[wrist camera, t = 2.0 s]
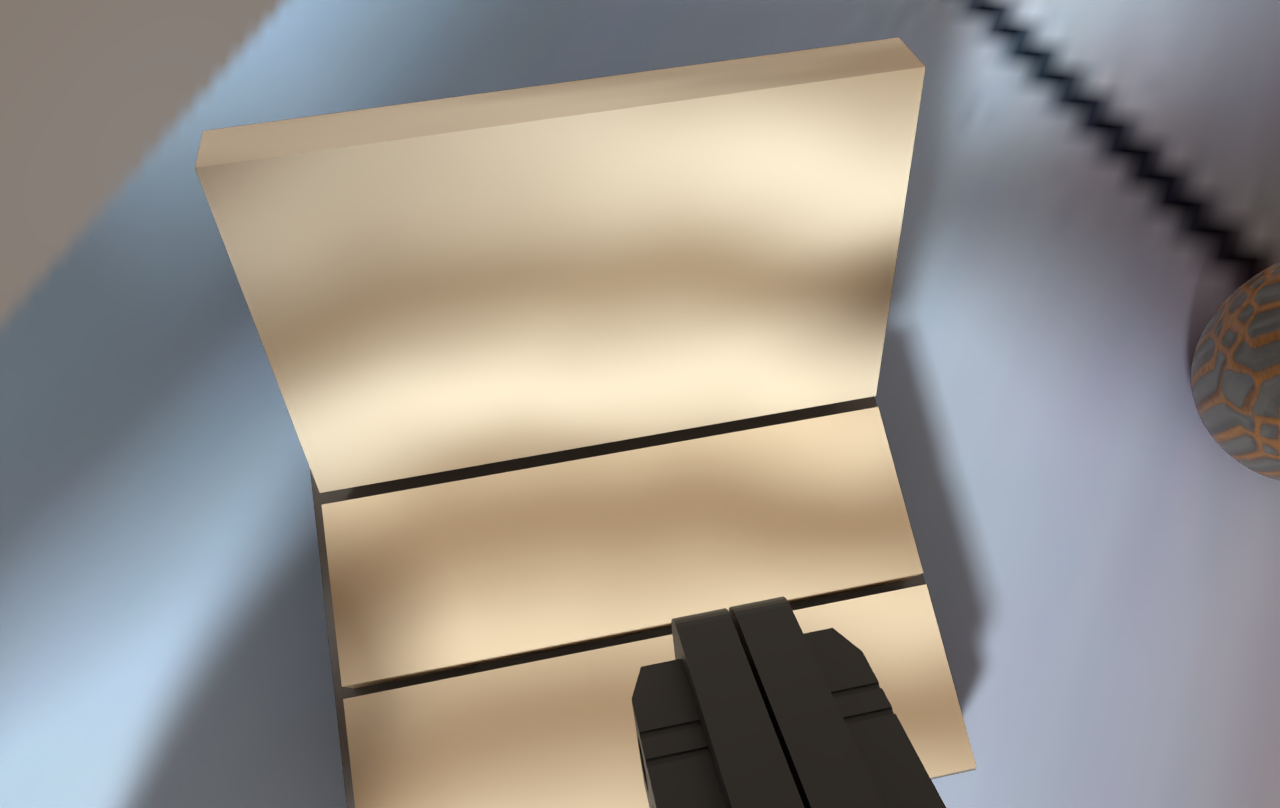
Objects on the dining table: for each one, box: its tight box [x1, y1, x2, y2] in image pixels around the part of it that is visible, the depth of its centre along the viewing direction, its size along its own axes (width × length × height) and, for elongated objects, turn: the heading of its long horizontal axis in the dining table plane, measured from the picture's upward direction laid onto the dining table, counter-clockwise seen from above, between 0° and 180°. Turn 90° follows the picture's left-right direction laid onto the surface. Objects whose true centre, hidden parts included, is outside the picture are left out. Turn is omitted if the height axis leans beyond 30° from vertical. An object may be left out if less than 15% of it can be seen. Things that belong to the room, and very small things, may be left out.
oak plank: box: [195, 37, 925, 493], centre depth 25 cm, size 10×15×2 cm
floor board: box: [310, 396, 976, 808], centre depth 30 cm, size 20×16×4 cm
